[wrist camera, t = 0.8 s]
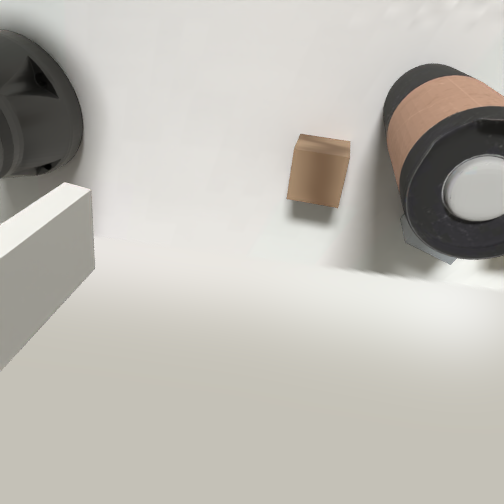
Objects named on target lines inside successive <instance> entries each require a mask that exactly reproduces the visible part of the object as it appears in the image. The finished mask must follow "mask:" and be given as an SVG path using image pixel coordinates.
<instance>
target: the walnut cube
mask: <svg viewBox="0 0 504 504" xmlns="http://www.w3.org/2000/svg"><path fill="white" fill-rule="evenodd" d="M349 159H350V141H344V140H337V139H331V138H324V137H318V136H311V135H305V134H300V136H299V138H298V141H297V143H296V146H295V148H294V153H293V160H292V166H291V173H290V179H289V186H288V193H287V199H290V200H295V201H301V202H307V203H312V204H318V205H324V206H329V207H335V208H338V206H339V201H340V197H341V193H342V189H343V184H344V180H345V176H346V172H347V167H348V163H349Z"/></svg>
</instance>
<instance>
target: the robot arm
mask: <svg viewBox="0 0 504 504" xmlns="http://www.w3.org/2000/svg"><path fill="white" fill-rule="evenodd" d="M81 137H82V116H81V110H80V106H79V103H78V100H77V97H76V94H75V92H74V90H73V88H72V86H71V84H70V82H69V80H68V78H67V77H66V75H65V74H64V72H63V71H62V69H61V68H60V67H59V65H58V64H57V63H56V62H55V61H54V59H53V58H52V57H51V56H50V55H49V54H48V53H47V52H46V51H44V50H43V49H42V48H41V47H40V46H38V45H37V44H36V43H34V42H33V41H31V40H30V39H28V38H26V37H24V36H22V35H20V34H17V33H15V32H11V31H8V30H1V29H0V179H1V178H10V177H22V176H35V175H42V174H46V173H49V172H51V171H53V170H55V169H57V168H59V167H61V166H62V165H64V164H66V163H67V162H68V161H70V160H71V159H72V158H73V156H74V155H75V153H76V152H77V150H78V148H79V145H80V142H81ZM94 269H95V259H94V238H93V217H92V196H91V189H87V188H84V187H80V186H77V185H73V184H70V183H66V182H64V183H63V184H61V185H59V186H58V187H56V188H55V189H53V190H52V191H50V192H49V193H47V194H46V195H44V196H43V197H41V198H40V199H38V200H37V201H35V202H34V203H32V204H31V205H29V206H28V207H26V208H25V209H23V210H22V211H20V212H19V213H17V214H16V215H14V216H13V217H11V218H10V219H8V220H7V221H5V222H3V223H2V224H0V371H1V370H2V369H3V368H4V367H5V366H6V365H7V364H8V363H9V362H10V360H11V359H12V358H13V357H14V356H15V355H16V354H17V353H18V352H19V351H20V349H22V347H23V346H24V345H25V344H26V343H27V342H28V341H29V340H30V339H31V338H32V337H33V336H34V334H35V333H36V332H37V331H38V330H39V329H40V328H41V327H42V326H43V325H44V323H45V322H46V321H47V320H48V319H49V318H50V317H51V316H52V315H53V314H54V313H55V312H56V310H57V309H58V308H59V307H60V306H61V305H62V304H63V303H64V301H66V299H67V298H68V297H69V296H70V295H71V294H72V293H73V292H74V291H75V290H76V289H77V287H78V286H79V285H80V284H81V283H82V282H83V281H84V280H85V279H86V277H88V276H89V274H90V273H91V272H92V271H93V270H94Z"/></svg>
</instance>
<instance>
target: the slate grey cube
mask: <svg viewBox="0 0 504 504" xmlns="http://www.w3.org/2000/svg"><path fill="white" fill-rule="evenodd" d="M400 220H401V225H402V229H403V234H404V239H405V242H406V243H408V244H410V245H412V246H414V247H416V248H418V249H420V250H422V251H424V252H426V253H428V254H430V255H432V256H434V257H436V258H438V259H440V260H442V261H444V262H446V263H448V264H450V265H451V264H452V263H453V262H454V261H455V260H456V259H457V258H455V257H450V256H447V255H444V254H441V253H439V252H437V251H435V250H433V249H431V248H430V247H428V246H427V245H425V244H424V243H423V242H422V241H421V240H420V239H419V238H418V237H417V236H416V235H415V234H414V232H413V231H412V229H411V227H410V226H409V224H408V221H407V219H406V217H405V214H404V215H403V216H402V217H401V219H400Z"/></svg>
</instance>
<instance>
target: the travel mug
mask: <svg viewBox="0 0 504 504" xmlns="http://www.w3.org/2000/svg"><path fill="white" fill-rule="evenodd" d="M384 122H385V131H386V140H387V147H388V151H389V155H390V159H391V163H392V167H393V170H394V174H395V178H396V182H397V186H398V190H399V194H400V197H401V201H402V205H403V209H404V213H405V217H406V219H407V221H408V224H409V226H410V227H411V229H412V231H413V232H414V234H415V235H416V236H417V237H418V238H419V239H420V240H421V241H422V242H423V243H424V244H425V245H427V246H428V247H430V248H431V249H433V250H435V251H437V252H439V253H441V254H444V255H447V256H450V257H455V258H460V259H475V260H479V259H489V258H495V257H500V256H503V255H504V96H502V95H501V94H499V93H498V92H496V91H495V90H493V89H492V88H490V87H489V86H487V85H486V84H485V83H483V82H481V81H479V80H477V79H475V78H473V77H471V76H469V75H467V74H465V73H463V72H460V71H458V70H456V69H454V68H452V67H449V66H446V65H442V64H425V65H421V66H418V67H415V68H413V69H411V70H409V71H408V72H406V73H405V74H404V75H402V76H401V77H400V78H399V79H398V80H397V81H396V82H395V83H394V85H393V86H392V88H391V89H390V91H389V93H388V95H387V97H386V101H385V105H384Z"/></svg>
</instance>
